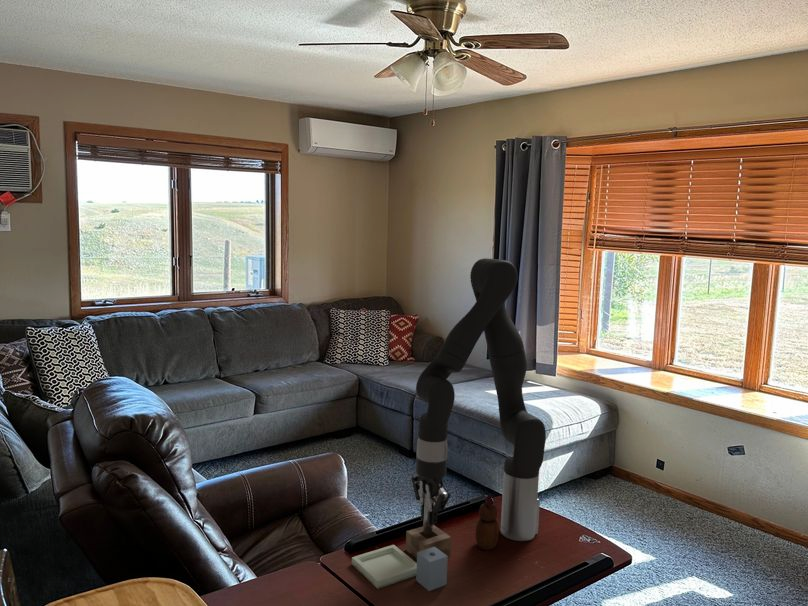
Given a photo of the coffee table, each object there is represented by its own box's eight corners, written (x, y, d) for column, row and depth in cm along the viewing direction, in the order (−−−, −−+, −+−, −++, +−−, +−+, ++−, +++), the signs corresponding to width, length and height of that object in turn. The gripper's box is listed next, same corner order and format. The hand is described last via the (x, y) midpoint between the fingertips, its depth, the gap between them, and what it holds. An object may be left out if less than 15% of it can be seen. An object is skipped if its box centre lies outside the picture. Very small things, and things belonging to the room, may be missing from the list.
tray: (393, 551, 161) (393, 544, 161) (421, 574, 151) (421, 566, 151) (351, 564, 154) (351, 557, 154) (377, 589, 144) (378, 581, 144)
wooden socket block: (431, 541, 166) (432, 523, 166) (450, 555, 160) (451, 537, 159) (405, 549, 162) (406, 531, 161) (424, 564, 155) (424, 545, 155)
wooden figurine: (496, 554, 161) (500, 497, 159) (473, 551, 162) (476, 495, 160) (498, 541, 168) (501, 486, 166) (476, 538, 169) (479, 484, 167)
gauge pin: (429, 528, 161) (430, 490, 160) (434, 532, 160) (436, 494, 158) (421, 530, 160) (422, 492, 159) (426, 534, 158) (428, 496, 157)
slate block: (433, 574, 151) (434, 546, 150) (446, 584, 147) (447, 556, 146) (416, 580, 148) (417, 551, 148) (428, 591, 144) (430, 561, 143)
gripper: (461, 462, 154) (457, 530, 156) (427, 443, 165) (424, 507, 167) (436, 467, 150) (433, 537, 152) (403, 448, 161) (400, 514, 163)
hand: (428, 521), depth 160 cm, fingers closed on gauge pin, 2 cm apart
